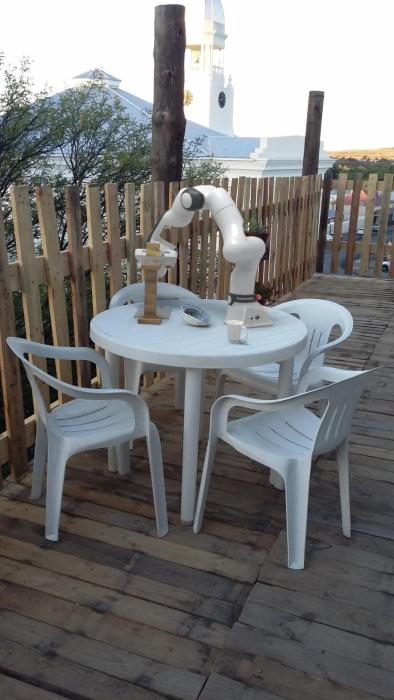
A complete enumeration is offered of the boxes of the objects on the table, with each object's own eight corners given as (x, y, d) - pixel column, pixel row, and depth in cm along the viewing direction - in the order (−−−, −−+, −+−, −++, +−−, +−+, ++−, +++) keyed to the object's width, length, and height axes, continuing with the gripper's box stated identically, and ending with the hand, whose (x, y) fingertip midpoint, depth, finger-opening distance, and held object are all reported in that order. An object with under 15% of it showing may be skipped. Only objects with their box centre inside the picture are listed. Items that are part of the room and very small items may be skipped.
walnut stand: (140, 318, 263) (141, 261, 255) (162, 319, 263) (163, 262, 255) (137, 323, 253) (138, 264, 246) (160, 324, 253) (161, 266, 246)
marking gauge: (149, 252, 272) (149, 239, 270) (161, 252, 272) (162, 239, 270) (145, 256, 256) (146, 243, 254) (159, 257, 256) (159, 243, 254)
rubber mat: (139, 307, 285) (139, 306, 285) (171, 308, 285) (171, 307, 285) (134, 317, 264) (134, 316, 264) (168, 319, 264) (168, 318, 264)
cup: (232, 338, 237) (233, 319, 235) (251, 343, 231) (253, 324, 228) (221, 341, 232) (222, 321, 229) (241, 346, 226) (242, 326, 223)
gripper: (136, 253, 282) (133, 241, 269) (177, 255, 282) (177, 243, 269) (135, 265, 281) (132, 254, 267) (176, 267, 281) (176, 256, 267)
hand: (155, 249), depth 268 cm, fingers closed on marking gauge, 3 cm apart
